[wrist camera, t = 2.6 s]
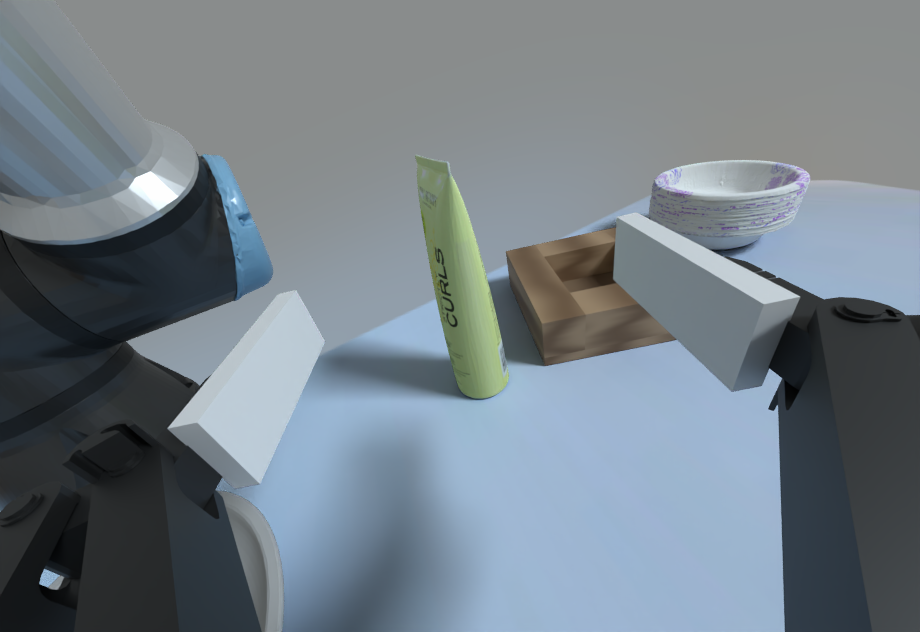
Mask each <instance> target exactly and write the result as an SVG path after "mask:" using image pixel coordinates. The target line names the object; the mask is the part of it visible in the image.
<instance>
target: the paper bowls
mask: <svg viewBox="0 0 920 632" xmlns="http://www.w3.org/2000/svg"><path fill="white" fill-rule="evenodd" d="M809 182H810V175H809V174H808V173H807V172H806V171H805V170H804V169H802V168H799V167H796V166H793V165H788V164H783V163H776V162H769V161H756V160H729V161H714V162H704V163H696V164H690V165H686V166H681V167H677V168H674V169H671V170H668V171H666V172H663V173H662V174H660V175H659V176H657V177H656V178H655V180H654V183H653V186H652V196H651V200H650V208H649V217H650V219H651V220H652V221H654V222H656V223H658V224H660V225H662V226H664V227H666V228H668V229H670V230H672V231H673V232H675V233H677V234H679V235H681V236H683V237H685V238H687V239H689V240H691V241H693V242H695V243H697V244H699V245H701V246H703V247H705V248H707V249H711V250H719V249H730V248H737V247H741V246H745V245H748V244H750V243H753V242H754V241H756V240H758V239H759V238H760V237H761V236H762V235H763V234H765V233H769V232H773V231H776V230H778V229H780V228H782V227H784V226H786V225H788V224H789V223H790V222H792V220H793V219H794V216H795V214H796V213H797V211H798V209H799V206H800V203H801V201H802V199H803V197H804V195H805V191H806V189H807V188H808V184H809Z"/></svg>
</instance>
